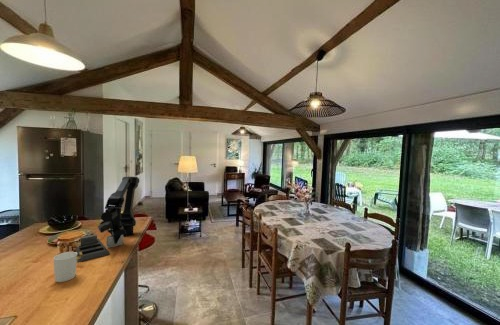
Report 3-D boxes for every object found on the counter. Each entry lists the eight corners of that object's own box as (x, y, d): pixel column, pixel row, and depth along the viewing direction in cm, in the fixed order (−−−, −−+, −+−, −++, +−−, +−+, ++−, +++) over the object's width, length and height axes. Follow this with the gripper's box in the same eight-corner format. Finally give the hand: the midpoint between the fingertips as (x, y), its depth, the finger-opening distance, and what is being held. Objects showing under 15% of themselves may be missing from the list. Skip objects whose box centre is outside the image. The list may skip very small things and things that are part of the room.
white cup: (49, 279, 94) (50, 256, 94) (71, 271, 101) (71, 250, 101) (58, 285, 91) (59, 261, 90) (80, 276, 98) (81, 254, 97)
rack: (100, 242, 134) (101, 231, 134) (110, 254, 119) (110, 242, 119) (71, 248, 124) (71, 237, 124) (77, 262, 109) (78, 249, 109)
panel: (121, 243, 134) (121, 233, 134) (123, 244, 133) (123, 234, 132) (106, 246, 129) (106, 236, 128) (107, 247, 127) (107, 237, 127)
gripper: (95, 215, 131) (95, 241, 131) (103, 223, 118) (102, 252, 118) (116, 212, 139) (116, 237, 139) (126, 219, 126) (125, 246, 126)
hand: (114, 242), depth 131 cm, fingers closed on panel, 2 cm apart
